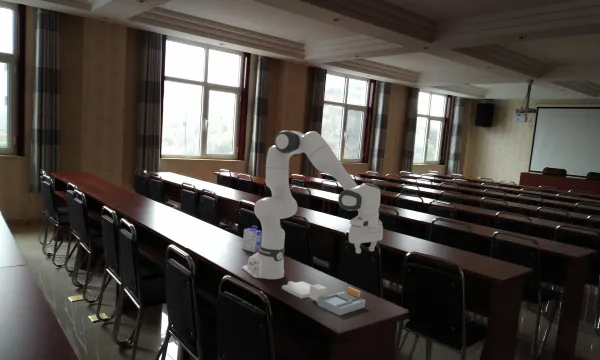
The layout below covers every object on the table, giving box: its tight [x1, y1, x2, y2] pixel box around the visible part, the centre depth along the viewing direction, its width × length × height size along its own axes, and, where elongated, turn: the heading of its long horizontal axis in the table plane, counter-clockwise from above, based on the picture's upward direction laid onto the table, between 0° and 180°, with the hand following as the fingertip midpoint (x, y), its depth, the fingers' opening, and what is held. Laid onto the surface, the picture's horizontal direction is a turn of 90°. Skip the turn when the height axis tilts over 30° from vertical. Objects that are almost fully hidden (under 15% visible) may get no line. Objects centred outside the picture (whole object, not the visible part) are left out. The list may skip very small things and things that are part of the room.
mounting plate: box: [281, 280, 312, 299], centre depth 196 cm, size 18×13×2 cm
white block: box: [308, 283, 327, 304], centre depth 185 cm, size 5×5×6 cm
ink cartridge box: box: [241, 225, 262, 253], centre depth 254 cm, size 10×6×14 cm, turn 58°
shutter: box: [336, 286, 362, 301], centre depth 186 cm, size 7×8×3 cm
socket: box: [317, 290, 366, 316], centre depth 183 cm, size 12×16×4 cm
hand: (364, 251), depth 189 cm, fingers open, 8 cm apart
